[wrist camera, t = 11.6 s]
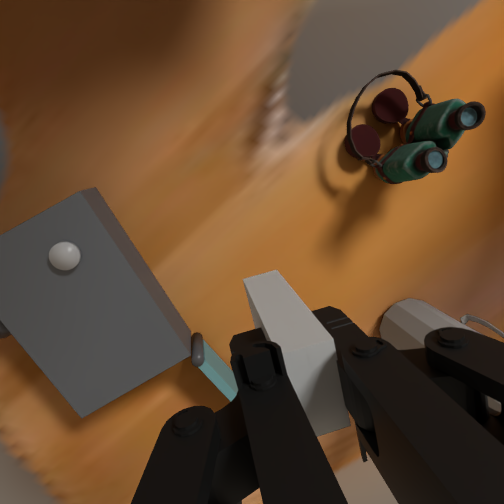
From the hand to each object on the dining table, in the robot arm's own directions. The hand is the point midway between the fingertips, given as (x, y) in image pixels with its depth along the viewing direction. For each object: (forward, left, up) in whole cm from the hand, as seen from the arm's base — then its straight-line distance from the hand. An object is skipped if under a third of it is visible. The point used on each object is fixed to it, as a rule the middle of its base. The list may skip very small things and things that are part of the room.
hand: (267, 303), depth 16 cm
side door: (+16, -8, -24) cm, 30 cm away
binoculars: (0, +19, -25) cm, 31 cm away
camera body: (0, -16, -24) cm, 29 cm away
